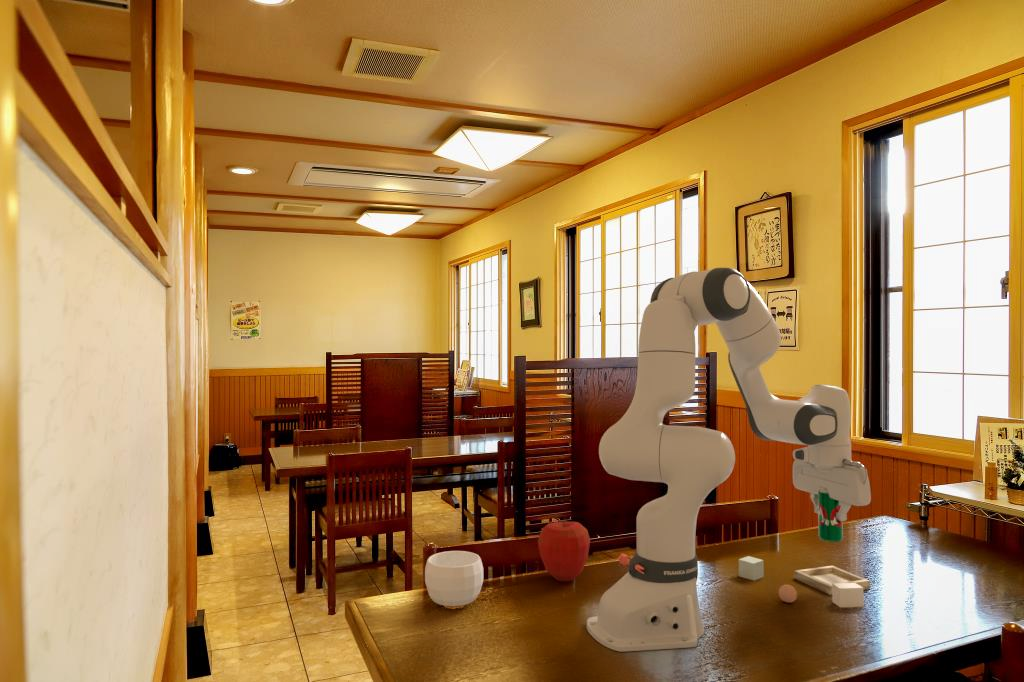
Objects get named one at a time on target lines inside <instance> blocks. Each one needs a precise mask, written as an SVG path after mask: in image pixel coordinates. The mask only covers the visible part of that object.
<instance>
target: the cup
mask: <svg viewBox="0 0 1024 682" xmlns="http://www.w3.org/2000/svg"><path fill="white" fill-rule="evenodd" d="M483 565H484V564H483V562H482V558H481V557H480V556H479V554H477V553H474V552H471V551H466V550H450V551H449V550H448V551H442V552H438V553H434V554H432V555H430V556H429V557H428V558H427V560H426V564H425V568H424V582H425V586H426V589H427V594H428V596H429V598H431V600H432V602H434V603H435V604H437V605H440V606H441V605H443V606H447V607H460V606H464V605H466V604H468V605H469V604H471V603H473V602H474V601H475V600H476V599H477V598H478V596H479V594H480V593H481V591H482V586H483V583H484V566H483Z"/></svg>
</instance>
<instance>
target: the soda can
mask: <svg viewBox="0 0 1024 682" xmlns="http://www.w3.org/2000/svg"><path fill="white" fill-rule="evenodd" d="M820 488H821V489H820V490H819V491H818V513H817V523H818V525H817V526H818V527H817V528H818V529H817V530H818V531H817V533H818V538H819V539H820V540H821V541H824V542H827V543H839V542H842V541H843V539H844V538H843V537H844V529H843V528H844V523H843V522H844V521H839V520H837V519H836V515H835V512H839V510H840V507H841V506H839V501H838V500H834V499H831V498H830V496H829V493H828V492H827V489H826V488H822V487H820Z"/></svg>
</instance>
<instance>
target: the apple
mask: <svg viewBox="0 0 1024 682" xmlns="http://www.w3.org/2000/svg"><path fill="white" fill-rule="evenodd" d="M590 543H591V538H590V535H589V531H588V529H587V528H586V527H585V526H583V524H581V523H580V522H578V521H566V518H564V519H563V521H554V522H550V523H548V524H546V525H545V526H544V527H543V528H541V530H540V533H539V537H538V539H537V546H538V551H539V556H540V559H541V561H542V563H543V566H544V568H545V570H546V572H547V573H548V574H549V575H551V576H552V577H553V578H554V579H555V580H557V581H559V582H572V581H574V580H575V579H576V578H577V577H578V576H579V575H580V574H582V573H583V570H584V568H585V565H586V564H587V563H586V562H587V559H588V557H589V550H590V545H591V544H590Z"/></svg>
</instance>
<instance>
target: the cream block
mask: <svg viewBox="0 0 1024 682" xmlns="http://www.w3.org/2000/svg"><path fill="white" fill-rule="evenodd" d="M831 596H832V603H833V604H835V605H836V606H837V607H839V608H864V590H863V587H861V586H860V585H858V584H856V583H832V595H831Z"/></svg>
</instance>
